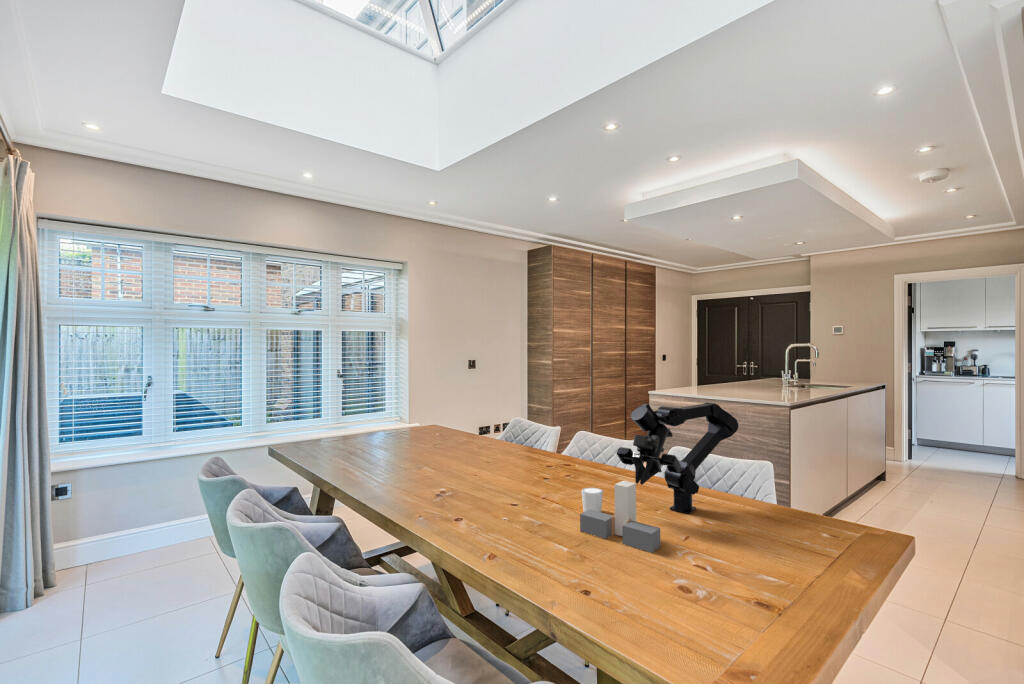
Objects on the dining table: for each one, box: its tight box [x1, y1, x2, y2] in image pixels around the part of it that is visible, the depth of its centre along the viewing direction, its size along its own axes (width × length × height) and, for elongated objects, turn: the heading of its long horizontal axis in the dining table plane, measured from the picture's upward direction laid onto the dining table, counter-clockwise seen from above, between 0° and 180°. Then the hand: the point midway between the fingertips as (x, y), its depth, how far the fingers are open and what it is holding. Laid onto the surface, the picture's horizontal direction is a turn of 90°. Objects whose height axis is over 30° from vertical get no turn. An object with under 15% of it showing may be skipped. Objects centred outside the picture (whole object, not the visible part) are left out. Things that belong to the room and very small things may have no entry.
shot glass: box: [581, 487, 604, 513], centre depth 154 cm, size 7×7×7 cm
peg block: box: [614, 480, 637, 537], centre depth 135 cm, size 5×4×14 cm
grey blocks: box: [579, 510, 662, 554], centre depth 132 cm, size 5×22×5 cm, turn 48°
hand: (638, 483), depth 141 cm, fingers closed
